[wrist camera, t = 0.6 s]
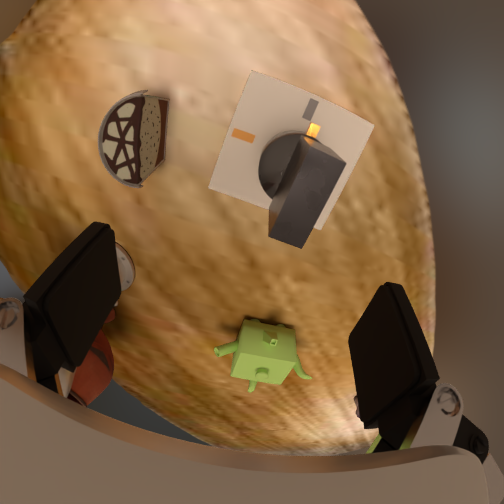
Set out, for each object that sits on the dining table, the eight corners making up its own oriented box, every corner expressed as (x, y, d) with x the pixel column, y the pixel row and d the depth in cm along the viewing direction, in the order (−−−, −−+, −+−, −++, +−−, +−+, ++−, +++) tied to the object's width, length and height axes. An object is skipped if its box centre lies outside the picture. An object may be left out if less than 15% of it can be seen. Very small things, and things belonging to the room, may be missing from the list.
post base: (319, 225, 42) (326, 249, 36) (210, 184, 40) (199, 202, 34) (371, 124, 33) (390, 131, 27) (252, 71, 30) (248, 65, 24)
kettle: (309, 341, 57) (312, 384, 48) (254, 359, 62) (251, 399, 53) (276, 299, 51) (276, 346, 42) (216, 322, 56) (207, 366, 46)
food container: (132, 90, 32) (95, 93, 23) (170, 89, 32) (140, 90, 24) (129, 166, 39) (96, 188, 30) (164, 169, 39) (136, 192, 30)
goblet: (101, 338, 64) (66, 412, 43) (57, 285, 55) (5, 359, 34) (150, 330, 59) (115, 423, 38) (101, 266, 50) (38, 360, 29)
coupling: (310, 205, 33) (327, 258, 23) (249, 181, 32) (239, 226, 22) (344, 137, 28) (381, 162, 18) (279, 108, 27) (285, 115, 17)
